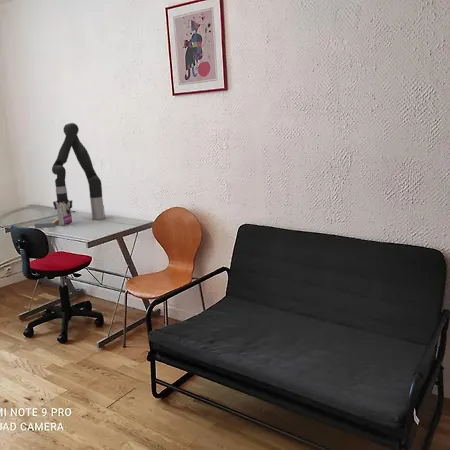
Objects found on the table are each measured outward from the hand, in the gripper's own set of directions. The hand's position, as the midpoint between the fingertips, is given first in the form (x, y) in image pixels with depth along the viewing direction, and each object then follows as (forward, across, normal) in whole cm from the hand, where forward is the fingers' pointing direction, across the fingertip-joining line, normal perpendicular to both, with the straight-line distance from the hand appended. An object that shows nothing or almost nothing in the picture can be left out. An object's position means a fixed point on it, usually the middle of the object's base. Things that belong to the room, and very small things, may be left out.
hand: (64, 214), depth 346 cm
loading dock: (+7, +13, 0) cm, 15 cm away
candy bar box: (+7, 0, 0) cm, 7 cm away
